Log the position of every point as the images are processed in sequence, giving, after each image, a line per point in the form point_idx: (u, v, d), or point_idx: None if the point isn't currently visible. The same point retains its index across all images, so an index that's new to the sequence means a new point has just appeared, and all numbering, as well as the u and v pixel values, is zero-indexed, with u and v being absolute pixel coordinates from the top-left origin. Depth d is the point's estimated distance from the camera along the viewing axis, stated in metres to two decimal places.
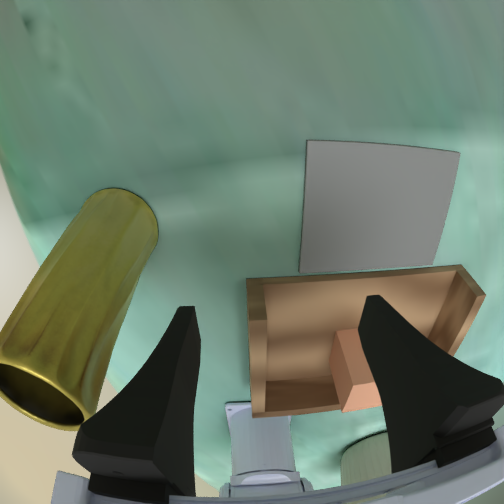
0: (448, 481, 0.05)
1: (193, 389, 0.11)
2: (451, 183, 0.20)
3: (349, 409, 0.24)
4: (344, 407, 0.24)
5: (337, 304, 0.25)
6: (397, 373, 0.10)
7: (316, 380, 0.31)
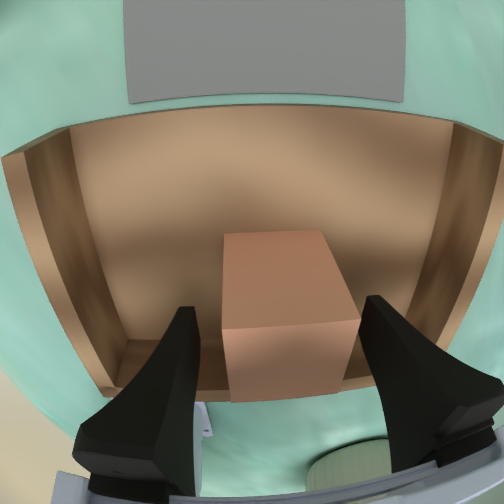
0: (448, 481, 0.05)
1: (193, 389, 0.11)
2: None
3: (245, 397, 0.12)
4: (231, 390, 0.12)
5: (210, 166, 0.13)
6: (397, 373, 0.10)
7: (216, 344, 0.18)
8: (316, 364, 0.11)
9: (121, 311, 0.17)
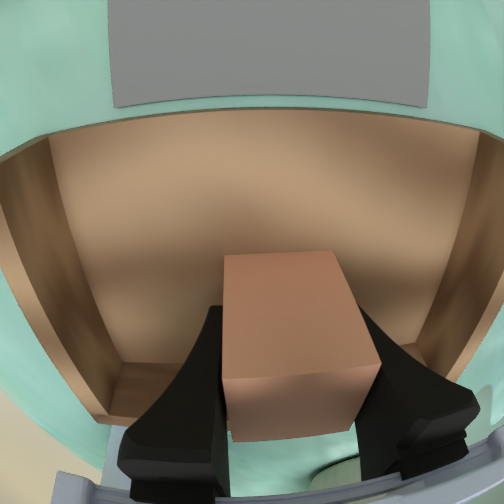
0: (448, 481, 0.05)
1: None
2: None
3: (249, 437, 0.10)
4: (232, 432, 0.10)
5: (208, 180, 0.11)
6: None
7: None
8: (328, 407, 0.09)
9: (113, 334, 0.15)
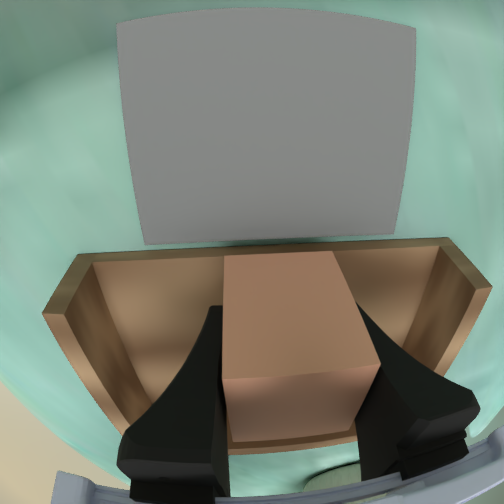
0: (448, 481, 0.05)
1: None
2: (408, 80, 0.11)
3: (248, 437, 0.10)
4: (232, 432, 0.10)
5: (220, 299, 0.16)
6: None
7: None
8: (327, 407, 0.09)
9: (146, 386, 0.20)
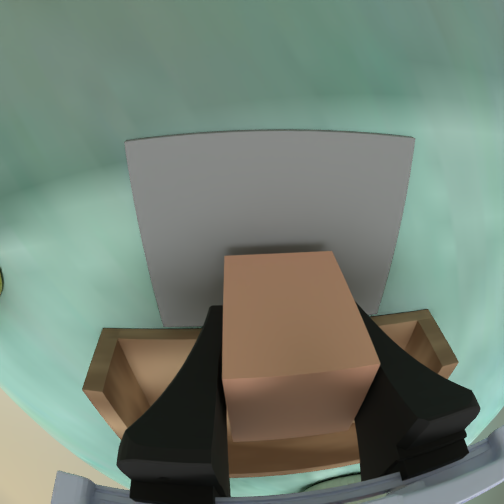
0: (448, 481, 0.05)
1: None
2: (401, 190, 0.13)
3: (248, 437, 0.10)
4: (232, 432, 0.10)
5: None
6: None
7: (230, 440, 0.23)
8: (327, 406, 0.09)
9: None
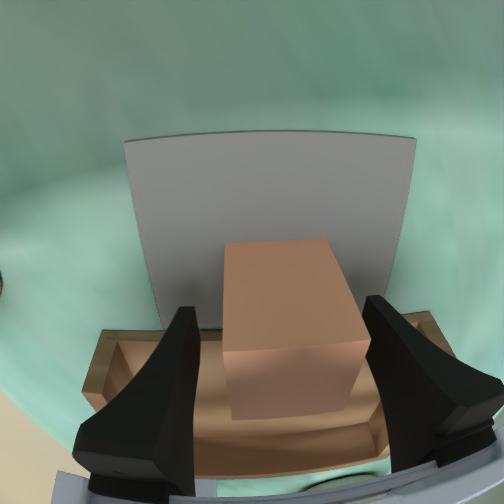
0: (448, 481, 0.05)
1: (193, 389, 0.11)
2: (402, 192, 0.13)
3: (247, 415, 0.11)
4: (232, 409, 0.11)
5: None
6: (397, 373, 0.10)
7: (230, 441, 0.23)
8: (322, 383, 0.10)
9: None
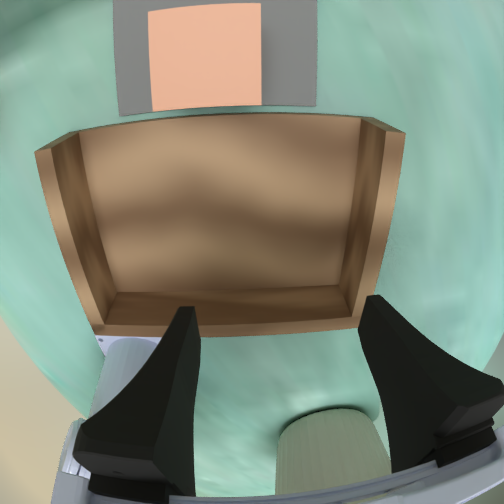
0: (448, 481, 0.05)
1: (193, 389, 0.11)
2: None
3: (166, 100, 0.12)
4: (152, 91, 0.11)
5: (174, 158, 0.19)
6: (397, 373, 0.10)
7: (183, 294, 0.24)
8: (229, 51, 0.11)
9: (112, 267, 0.23)
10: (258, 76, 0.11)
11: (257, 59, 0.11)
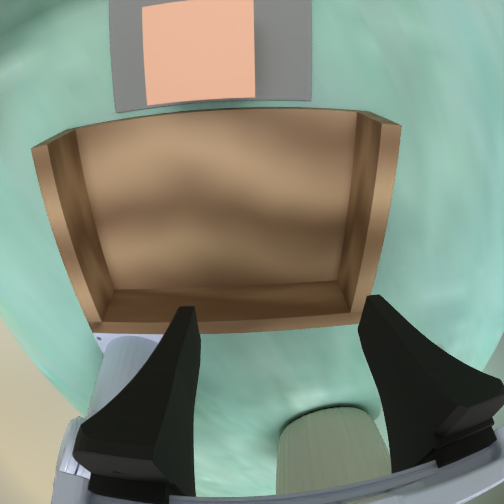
0: (448, 481, 0.05)
1: (193, 389, 0.11)
2: None
3: (160, 94, 0.12)
4: (147, 85, 0.11)
5: (170, 154, 0.18)
6: (397, 373, 0.10)
7: (180, 291, 0.24)
8: (222, 44, 0.11)
9: (110, 265, 0.23)
10: (251, 69, 0.11)
11: (250, 52, 0.11)
